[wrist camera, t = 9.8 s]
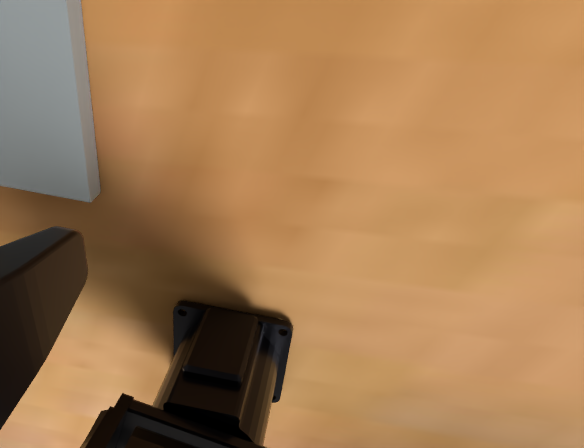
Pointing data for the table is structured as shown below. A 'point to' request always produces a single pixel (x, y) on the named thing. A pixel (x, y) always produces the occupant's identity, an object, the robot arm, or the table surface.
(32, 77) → the board
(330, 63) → the table surface
